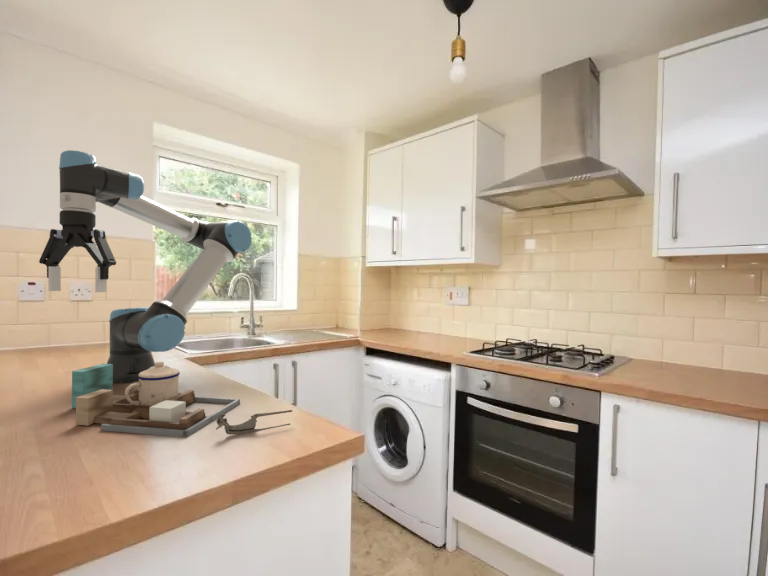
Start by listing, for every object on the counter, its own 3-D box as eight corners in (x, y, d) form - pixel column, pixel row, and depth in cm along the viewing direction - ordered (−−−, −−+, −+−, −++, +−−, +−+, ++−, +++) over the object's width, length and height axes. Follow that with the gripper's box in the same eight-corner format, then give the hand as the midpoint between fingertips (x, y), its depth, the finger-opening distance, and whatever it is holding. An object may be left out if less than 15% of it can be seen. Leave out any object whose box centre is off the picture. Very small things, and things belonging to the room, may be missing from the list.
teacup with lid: (170, 400, 104) (170, 357, 104) (185, 407, 98) (186, 362, 98) (118, 411, 95) (118, 363, 94) (131, 420, 89) (132, 369, 89)
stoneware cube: (165, 422, 89) (165, 400, 88) (185, 423, 88) (185, 401, 88) (149, 430, 84) (149, 407, 84) (170, 431, 83) (170, 408, 83)
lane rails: (170, 399, 105) (171, 394, 105) (239, 403, 102) (239, 399, 102) (100, 430, 83) (101, 424, 83) (186, 437, 80) (186, 431, 80)
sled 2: (103, 413, 92) (103, 388, 92) (205, 421, 89) (205, 395, 89) (73, 425, 84) (73, 398, 84) (184, 434, 81) (184, 405, 81)
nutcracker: (291, 425, 88) (291, 403, 88) (292, 426, 88) (292, 404, 88) (215, 439, 80) (215, 415, 80) (215, 440, 79) (216, 416, 79)
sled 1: (106, 395, 106) (107, 362, 106) (194, 401, 103) (195, 367, 103) (66, 409, 95) (67, 372, 94) (164, 416, 91) (165, 378, 91)
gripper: (21, 209, 101) (21, 290, 101) (109, 209, 98) (109, 293, 98) (49, 213, 108) (49, 290, 108) (131, 214, 105) (131, 292, 106)
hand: (77, 291), depth 103 cm, fingers open, 13 cm apart
